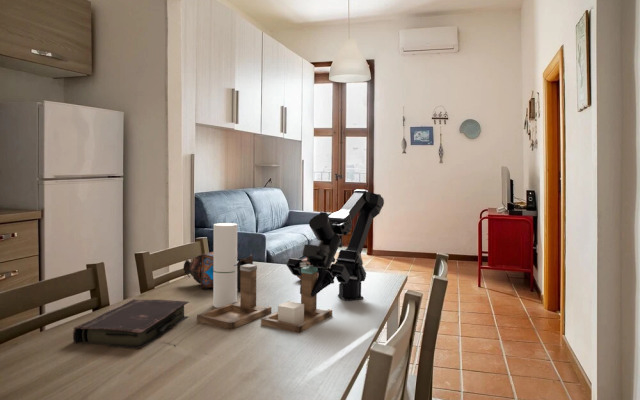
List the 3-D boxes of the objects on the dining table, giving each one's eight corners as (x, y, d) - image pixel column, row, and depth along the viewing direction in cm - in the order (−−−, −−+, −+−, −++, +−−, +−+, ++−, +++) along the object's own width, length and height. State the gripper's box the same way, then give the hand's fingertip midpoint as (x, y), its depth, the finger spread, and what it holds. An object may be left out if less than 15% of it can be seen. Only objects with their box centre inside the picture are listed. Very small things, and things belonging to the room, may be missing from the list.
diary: (72, 346, 115) (71, 325, 114) (131, 315, 139) (131, 297, 139) (143, 351, 111) (143, 330, 111) (191, 318, 136) (191, 301, 135)
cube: (288, 319, 132) (288, 301, 131) (303, 322, 129) (304, 304, 129) (277, 324, 127) (278, 305, 127) (293, 327, 125) (293, 308, 125)
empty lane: (238, 308, 144) (239, 261, 143) (271, 315, 138) (271, 266, 137) (197, 324, 129) (197, 271, 128) (231, 332, 123) (231, 277, 122)
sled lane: (296, 311, 142) (297, 263, 141) (332, 318, 136) (333, 268, 135) (261, 327, 127) (261, 274, 126) (299, 336, 121) (300, 280, 120)
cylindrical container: (241, 303, 150) (241, 223, 148) (229, 309, 143) (229, 226, 142) (221, 300, 152) (221, 222, 151) (208, 306, 146) (208, 225, 144)
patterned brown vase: (249, 305, 170) (183, 296, 175) (260, 265, 179) (198, 258, 184) (237, 284, 157) (167, 275, 162) (251, 242, 166) (184, 235, 171)
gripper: (290, 231, 143) (267, 274, 134) (345, 236, 133) (325, 283, 124) (303, 253, 150) (283, 295, 141) (357, 260, 141) (339, 306, 132)
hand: (306, 295), depth 134 cm, fingers closed on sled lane, 3 cm apart
